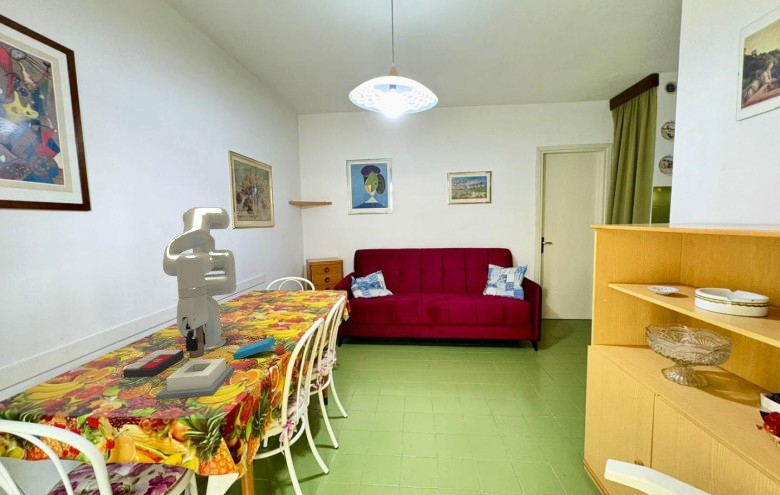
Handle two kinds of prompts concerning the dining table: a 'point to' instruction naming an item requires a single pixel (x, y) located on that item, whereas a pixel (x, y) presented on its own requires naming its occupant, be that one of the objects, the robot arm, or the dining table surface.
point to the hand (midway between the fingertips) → (196, 347)
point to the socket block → (196, 379)
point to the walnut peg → (200, 343)
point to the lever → (258, 348)
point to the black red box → (154, 363)
